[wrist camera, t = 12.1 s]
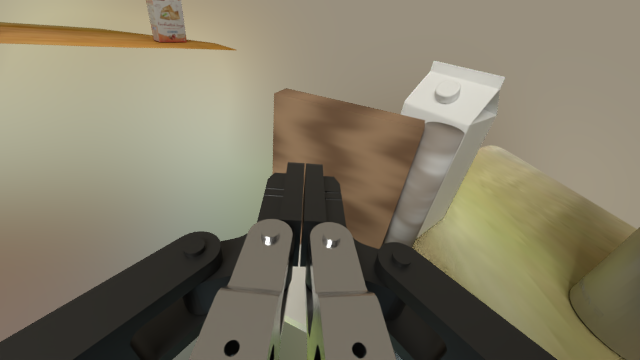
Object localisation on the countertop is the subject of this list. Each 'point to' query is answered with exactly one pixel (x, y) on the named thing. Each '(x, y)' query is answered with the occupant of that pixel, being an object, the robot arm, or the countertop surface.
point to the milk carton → (455, 120)
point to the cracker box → (166, 20)
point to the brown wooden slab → (367, 160)
